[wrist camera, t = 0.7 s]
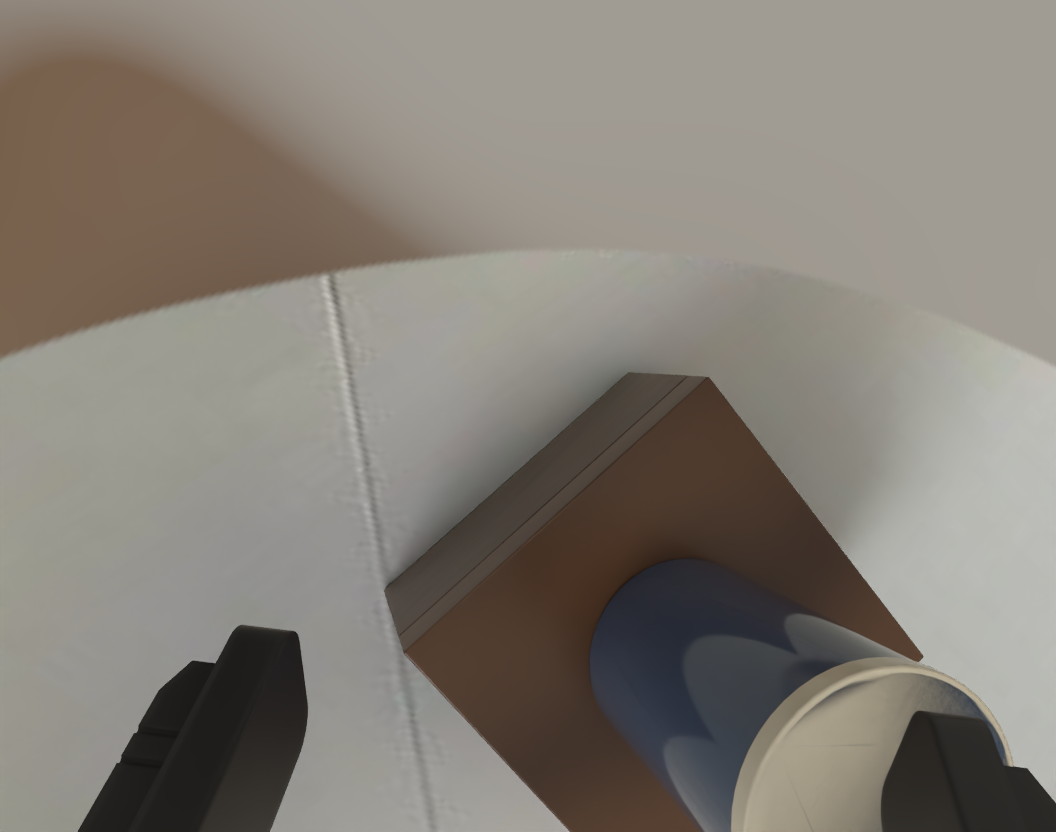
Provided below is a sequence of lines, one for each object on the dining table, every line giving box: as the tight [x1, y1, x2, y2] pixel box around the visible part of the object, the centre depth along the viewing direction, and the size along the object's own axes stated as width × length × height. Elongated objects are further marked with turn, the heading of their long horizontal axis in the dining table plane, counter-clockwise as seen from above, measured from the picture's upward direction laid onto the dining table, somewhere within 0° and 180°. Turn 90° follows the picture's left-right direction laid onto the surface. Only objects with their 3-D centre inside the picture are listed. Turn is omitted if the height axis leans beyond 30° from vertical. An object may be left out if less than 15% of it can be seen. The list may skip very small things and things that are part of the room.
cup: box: [589, 558, 1014, 832], centre depth 23 cm, size 6×6×10 cm
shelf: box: [384, 373, 923, 832], centre depth 31 cm, size 12×12×7 cm
